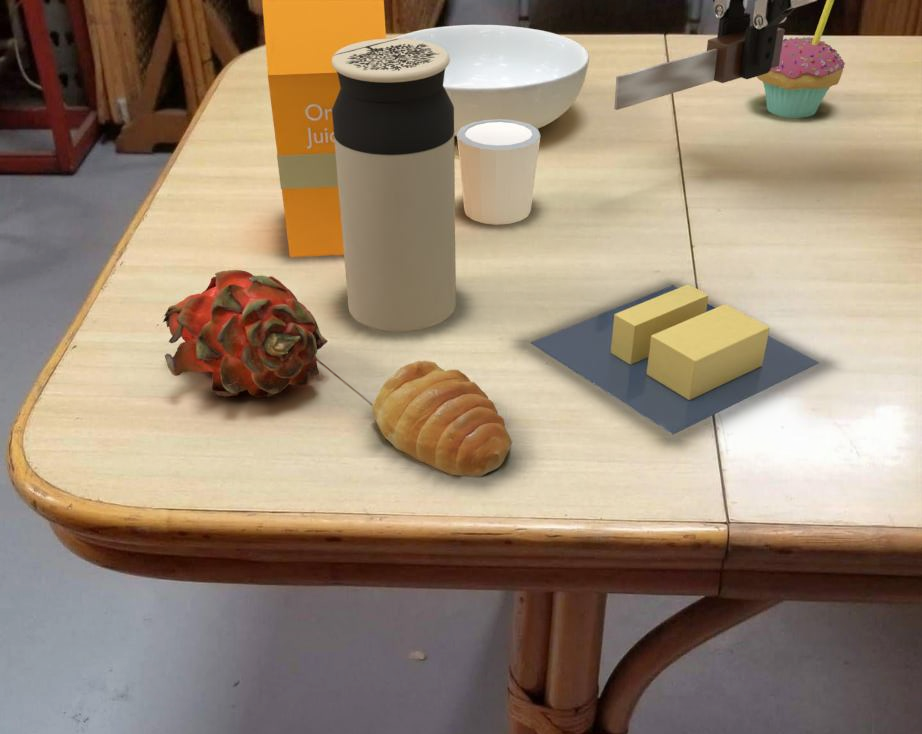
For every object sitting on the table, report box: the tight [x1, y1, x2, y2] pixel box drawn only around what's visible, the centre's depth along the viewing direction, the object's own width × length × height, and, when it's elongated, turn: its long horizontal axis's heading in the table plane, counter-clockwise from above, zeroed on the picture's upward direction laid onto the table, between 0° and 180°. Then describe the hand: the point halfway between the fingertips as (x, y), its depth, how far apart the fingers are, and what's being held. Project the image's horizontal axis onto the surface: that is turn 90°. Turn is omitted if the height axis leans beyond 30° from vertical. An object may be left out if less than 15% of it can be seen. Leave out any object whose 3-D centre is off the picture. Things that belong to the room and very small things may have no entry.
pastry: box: [372, 360, 513, 478], centre depth 66 cm, size 9×7×4 cm
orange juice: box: [261, 0, 387, 258], centre depth 82 cm, size 8×9×20 cm
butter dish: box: [529, 284, 820, 436], centre depth 74 cm, size 14×14×1 cm
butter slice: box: [611, 284, 710, 365], centre depth 74 cm, size 7×2×3 cm, turn 127°
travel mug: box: [332, 38, 457, 332], centre depth 74 cm, size 8×8×18 cm
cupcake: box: [756, 0, 846, 119], centre depth 106 cm, size 9×8×12 cm
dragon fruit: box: [156, 269, 328, 398], centre depth 70 cm, size 8×8×12 cm
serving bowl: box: [393, 24, 590, 137], centre depth 106 cm, size 21×21×7 cm
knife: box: [613, 27, 785, 111], centre depth 88 cm, size 18×2×3 cm, turn 126°
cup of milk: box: [456, 119, 541, 226], centre depth 90 cm, size 7×7×7 cm
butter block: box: [647, 303, 771, 400], centre depth 71 cm, size 7×4×3 cm, turn 127°
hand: (741, 69), depth 91 cm, fingers closed on knife, 2 cm apart
